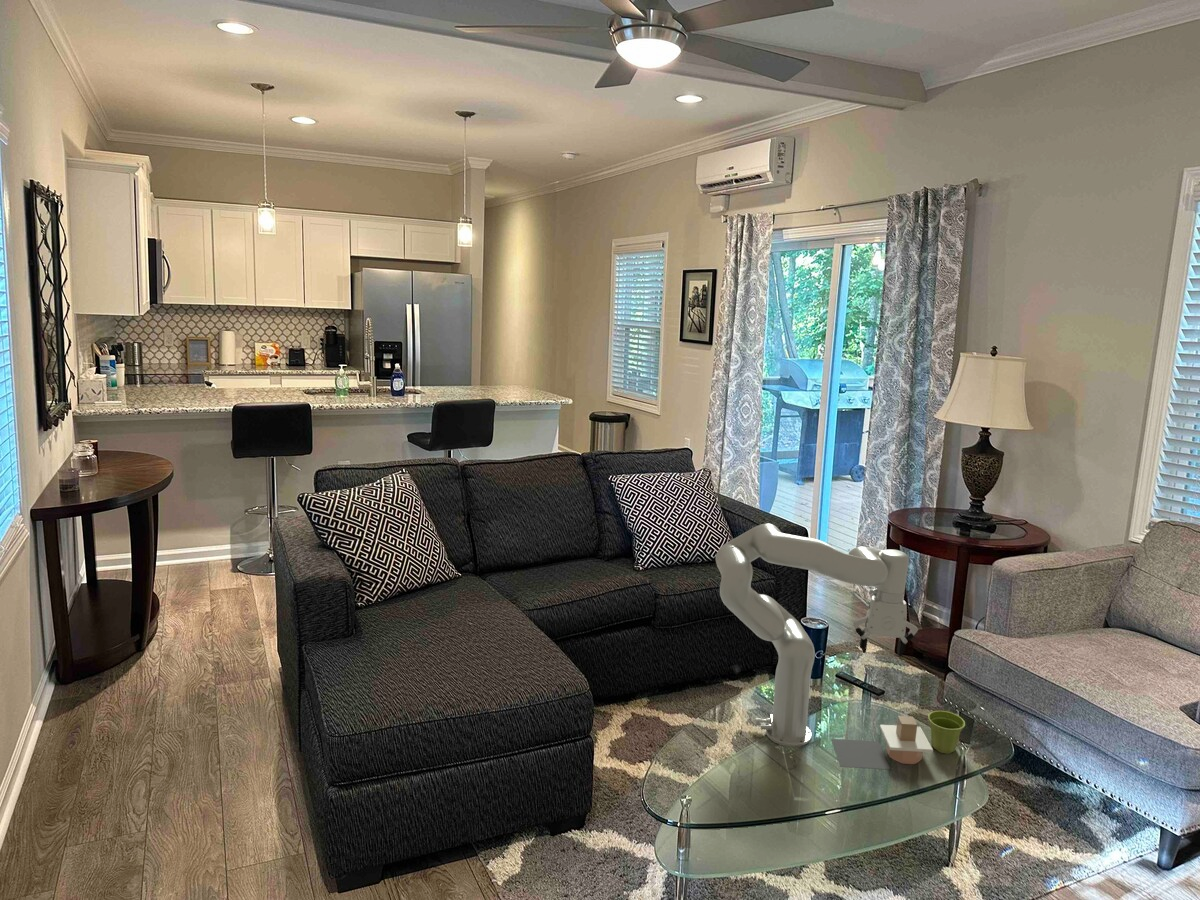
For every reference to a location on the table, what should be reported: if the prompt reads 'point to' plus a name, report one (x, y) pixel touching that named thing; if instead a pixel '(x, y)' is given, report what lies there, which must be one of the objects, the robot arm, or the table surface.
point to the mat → (860, 754)
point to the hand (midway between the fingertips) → (881, 652)
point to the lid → (905, 736)
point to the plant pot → (945, 730)
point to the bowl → (905, 756)
